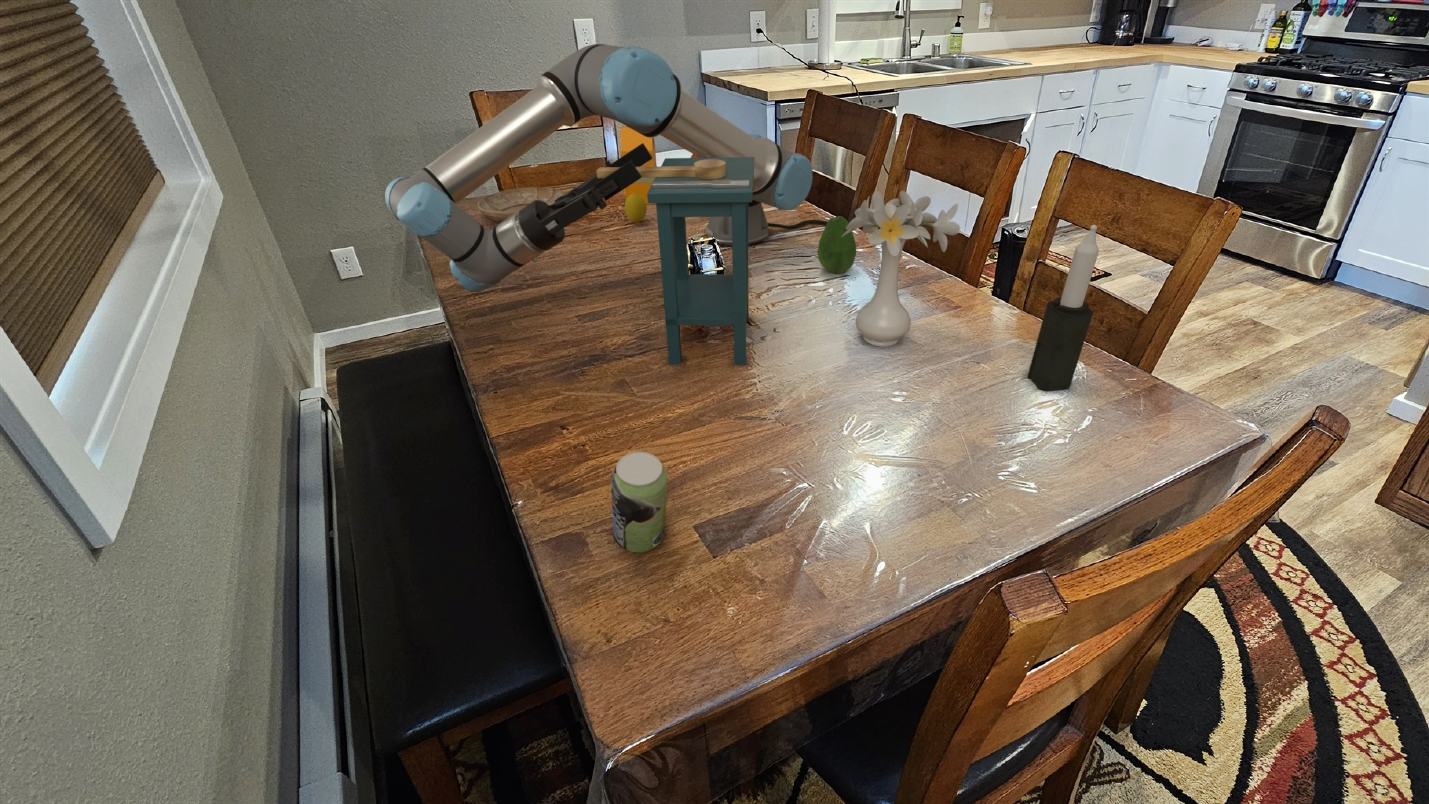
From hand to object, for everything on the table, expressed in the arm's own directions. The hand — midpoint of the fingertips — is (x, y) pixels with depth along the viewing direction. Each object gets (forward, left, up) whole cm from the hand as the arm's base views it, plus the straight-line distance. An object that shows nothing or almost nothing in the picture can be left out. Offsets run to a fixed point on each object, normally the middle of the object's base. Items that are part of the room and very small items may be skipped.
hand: (642, 159), depth 100 cm
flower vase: (-37, +15, -32) cm, 51 cm away
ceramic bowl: (+12, -84, -32) cm, 91 cm away
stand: (-9, +3, -31) cm, 33 cm away
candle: (-52, +38, -32) cm, 72 cm away
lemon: (-14, -64, -32) cm, 73 cm away
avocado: (-44, -14, -32) cm, 56 cm away
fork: (-6, +9, -2) cm, 11 cm away
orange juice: (-21, -83, -32) cm, 91 cm away
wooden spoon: (-3, +1, -2) cm, 4 cm away
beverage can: (+16, +46, -32) cm, 58 cm away
